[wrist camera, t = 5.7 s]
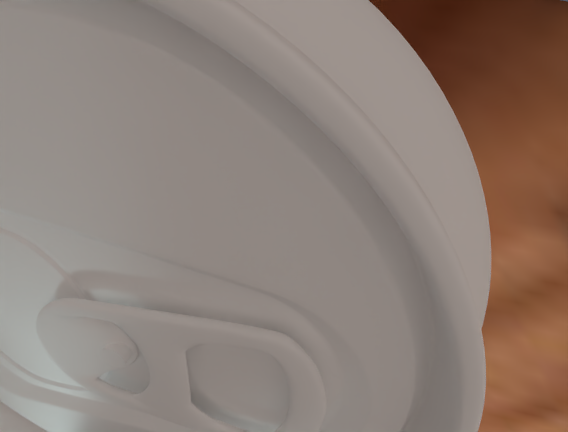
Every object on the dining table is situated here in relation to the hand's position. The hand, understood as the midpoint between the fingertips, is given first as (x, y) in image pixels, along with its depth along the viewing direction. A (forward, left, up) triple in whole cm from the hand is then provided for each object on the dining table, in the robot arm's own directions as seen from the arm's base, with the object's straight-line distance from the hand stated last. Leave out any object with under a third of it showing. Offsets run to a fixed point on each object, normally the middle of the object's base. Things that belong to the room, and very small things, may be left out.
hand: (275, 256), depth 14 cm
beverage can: (-1, +5, -3) cm, 6 cm away
